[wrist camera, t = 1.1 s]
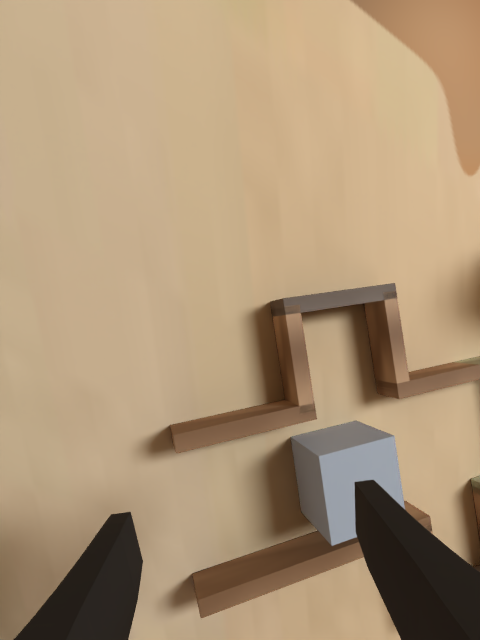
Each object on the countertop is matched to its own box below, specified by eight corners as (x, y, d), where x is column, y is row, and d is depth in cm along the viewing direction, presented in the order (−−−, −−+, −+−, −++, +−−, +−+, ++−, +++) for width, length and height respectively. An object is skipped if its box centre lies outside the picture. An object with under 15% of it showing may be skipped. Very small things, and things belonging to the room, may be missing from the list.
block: (365, 490, 25) (406, 519, 21) (300, 511, 23) (331, 546, 20) (355, 420, 25) (394, 435, 21) (289, 436, 23) (318, 456, 20)
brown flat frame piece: (528, 557, 28) (559, 574, 26) (210, 697, 21) (218, 737, 19) (485, 271, 28) (513, 266, 26) (154, 317, 21) (155, 316, 19)
